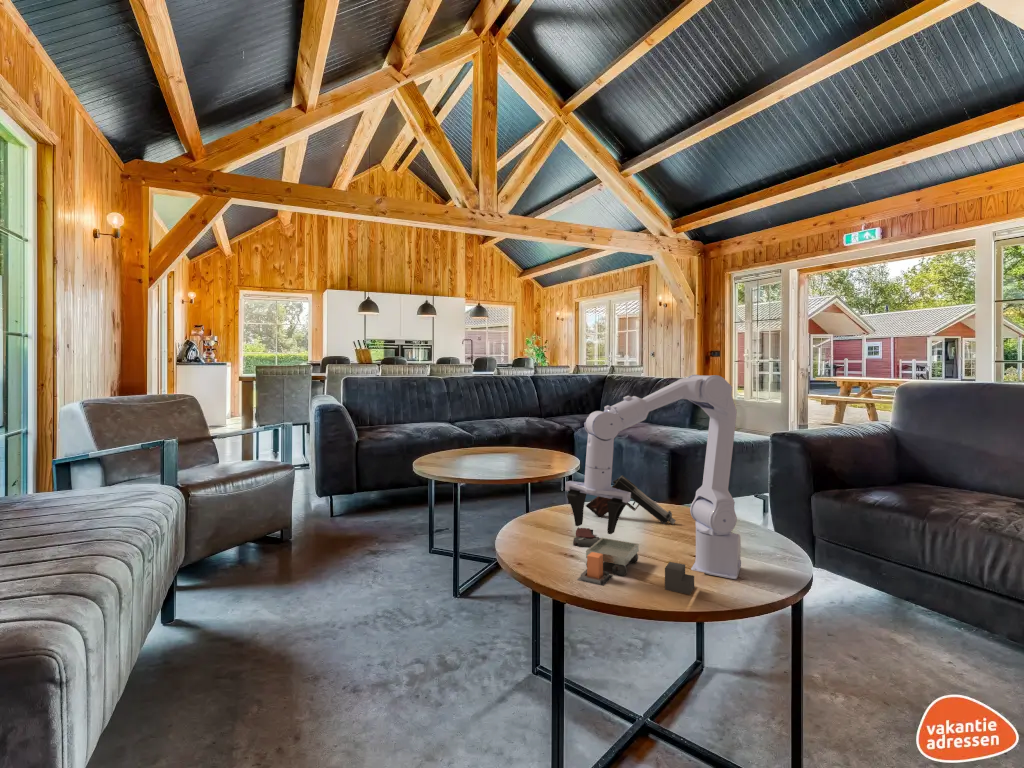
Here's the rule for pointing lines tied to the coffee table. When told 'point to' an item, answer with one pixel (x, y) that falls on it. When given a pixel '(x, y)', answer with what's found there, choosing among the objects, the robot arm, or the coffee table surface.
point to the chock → (678, 579)
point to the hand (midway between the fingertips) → (594, 529)
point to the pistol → (585, 537)
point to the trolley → (616, 553)
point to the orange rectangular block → (595, 565)
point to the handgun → (639, 497)
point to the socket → (597, 581)
